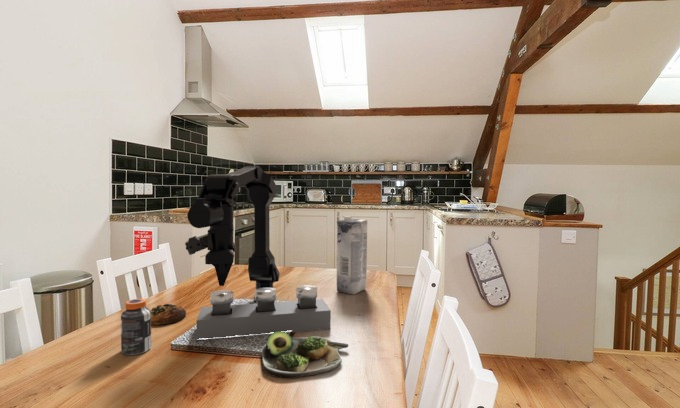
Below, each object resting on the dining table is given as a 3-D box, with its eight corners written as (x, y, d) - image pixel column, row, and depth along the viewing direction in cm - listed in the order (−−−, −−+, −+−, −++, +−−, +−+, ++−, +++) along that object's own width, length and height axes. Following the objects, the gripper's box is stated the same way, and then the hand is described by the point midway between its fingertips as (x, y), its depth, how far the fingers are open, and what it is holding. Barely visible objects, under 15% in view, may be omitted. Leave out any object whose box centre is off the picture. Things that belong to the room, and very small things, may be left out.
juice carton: (369, 289, 133) (370, 216, 132) (354, 296, 124) (355, 217, 123) (348, 285, 138) (349, 214, 137) (333, 292, 129) (334, 216, 128)
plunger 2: (295, 310, 101) (295, 285, 100) (314, 308, 102) (315, 284, 102) (297, 317, 95) (298, 291, 95) (318, 315, 97) (319, 290, 96)
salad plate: (340, 338, 91) (340, 319, 91) (360, 374, 73) (360, 351, 73) (261, 344, 86) (261, 325, 86) (262, 384, 69) (262, 360, 69)
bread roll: (189, 321, 100) (186, 303, 99) (144, 334, 94) (140, 315, 94) (183, 310, 109) (181, 294, 109) (142, 322, 104) (139, 305, 103)
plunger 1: (211, 316, 95) (211, 290, 95) (233, 314, 97) (233, 289, 96) (209, 324, 90) (209, 296, 89) (232, 322, 91) (232, 295, 91)
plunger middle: (254, 313, 98) (254, 288, 98) (275, 311, 99) (275, 286, 99) (255, 320, 93) (255, 294, 92) (277, 319, 94) (277, 292, 94)
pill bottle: (157, 347, 83) (156, 298, 83) (133, 358, 78) (132, 306, 77) (139, 342, 86) (139, 295, 85) (115, 352, 81) (114, 302, 80)
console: (201, 325, 97) (201, 307, 96) (322, 315, 105) (322, 298, 105) (196, 341, 87) (196, 320, 87) (330, 329, 95) (330, 310, 95)
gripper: (192, 221, 99) (193, 277, 100) (181, 228, 81) (181, 297, 82) (235, 220, 102) (235, 275, 102) (233, 228, 84) (233, 294, 84)
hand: (221, 284), depth 93 cm, fingers closed
